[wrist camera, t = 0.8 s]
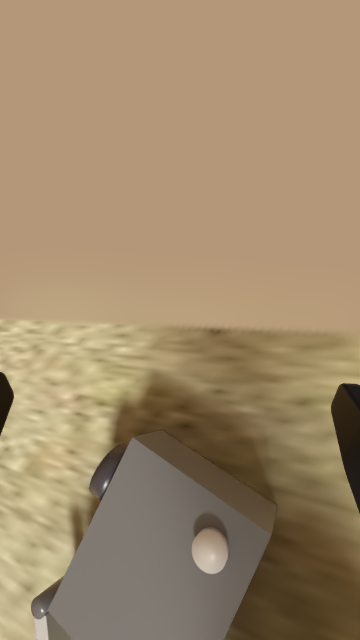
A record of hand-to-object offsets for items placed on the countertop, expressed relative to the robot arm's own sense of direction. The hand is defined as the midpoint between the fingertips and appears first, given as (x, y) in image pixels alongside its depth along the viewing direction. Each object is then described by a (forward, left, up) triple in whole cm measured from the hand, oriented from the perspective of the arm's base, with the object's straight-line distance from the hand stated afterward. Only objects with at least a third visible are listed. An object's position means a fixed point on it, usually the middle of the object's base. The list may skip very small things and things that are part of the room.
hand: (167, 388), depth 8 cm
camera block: (-10, 0, -12) cm, 15 cm away
